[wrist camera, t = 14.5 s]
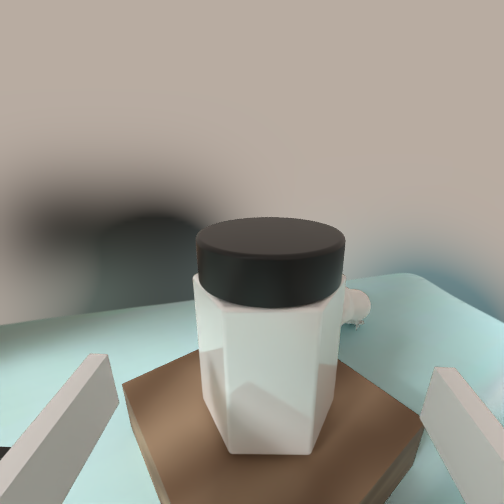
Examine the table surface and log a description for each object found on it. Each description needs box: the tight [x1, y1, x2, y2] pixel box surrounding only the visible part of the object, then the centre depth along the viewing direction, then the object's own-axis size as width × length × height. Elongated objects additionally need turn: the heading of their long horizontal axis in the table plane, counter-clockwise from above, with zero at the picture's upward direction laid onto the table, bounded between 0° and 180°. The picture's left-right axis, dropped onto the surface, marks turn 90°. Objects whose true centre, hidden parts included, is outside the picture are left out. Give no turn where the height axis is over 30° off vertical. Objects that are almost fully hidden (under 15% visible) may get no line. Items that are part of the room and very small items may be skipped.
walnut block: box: [122, 349, 425, 504], centre depth 21 cm, size 15×15×5 cm
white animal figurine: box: [341, 286, 371, 330], centre depth 33 cm, size 6×8×12 cm
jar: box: [193, 217, 346, 455], centre depth 18 cm, size 9×8×12 cm
